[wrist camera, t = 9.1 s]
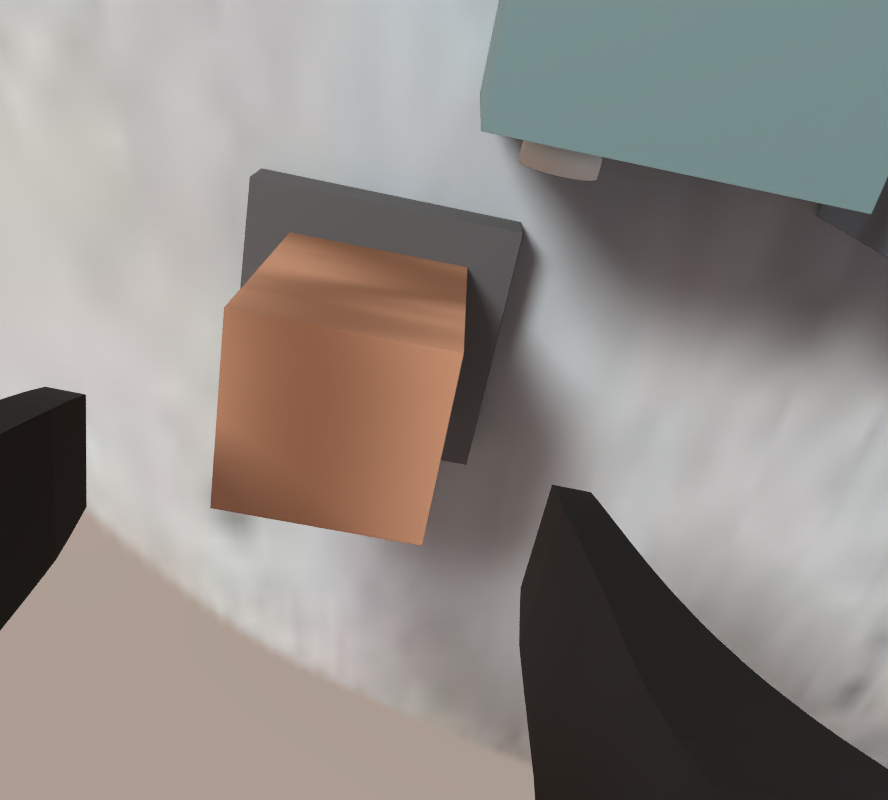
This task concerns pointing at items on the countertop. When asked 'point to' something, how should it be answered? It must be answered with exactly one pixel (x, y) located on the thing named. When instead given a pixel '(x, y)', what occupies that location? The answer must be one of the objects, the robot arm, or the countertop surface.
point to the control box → (698, 91)
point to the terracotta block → (338, 388)
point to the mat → (404, 232)
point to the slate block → (862, 222)
